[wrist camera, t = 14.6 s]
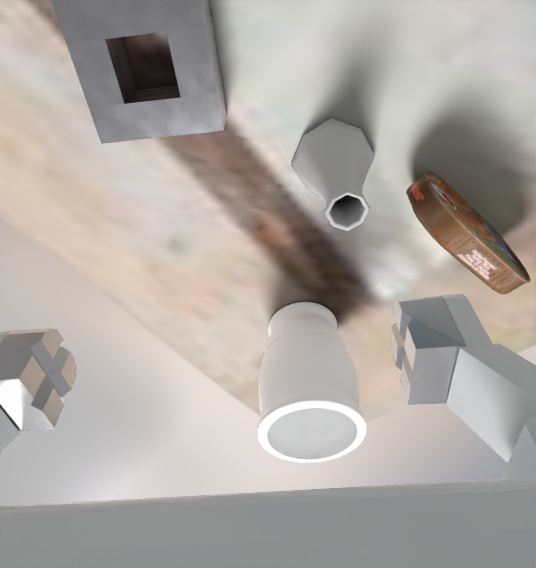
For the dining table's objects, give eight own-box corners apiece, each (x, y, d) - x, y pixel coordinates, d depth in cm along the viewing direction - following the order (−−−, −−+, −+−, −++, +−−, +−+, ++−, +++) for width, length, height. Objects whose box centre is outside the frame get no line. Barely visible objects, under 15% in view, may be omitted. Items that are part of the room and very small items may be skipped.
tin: (509, 242, 46) (549, 293, 39) (483, 261, 47) (518, 313, 41) (417, 155, 40) (447, 198, 33) (391, 180, 42) (414, 225, 35)
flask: (277, 165, 41) (279, 218, 33) (330, 101, 37) (346, 144, 29) (333, 208, 43) (347, 267, 36) (388, 152, 40) (417, 204, 32)
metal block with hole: (204, -27, 32) (197, -23, 28) (227, 114, 38) (223, 130, 35) (71, -9, 32) (50, -4, 29) (115, 127, 38) (101, 143, 35)
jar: (306, 366, 58) (316, 475, 46) (242, 332, 54) (235, 441, 42) (363, 319, 53) (390, 428, 41) (297, 278, 49) (307, 386, 37)
